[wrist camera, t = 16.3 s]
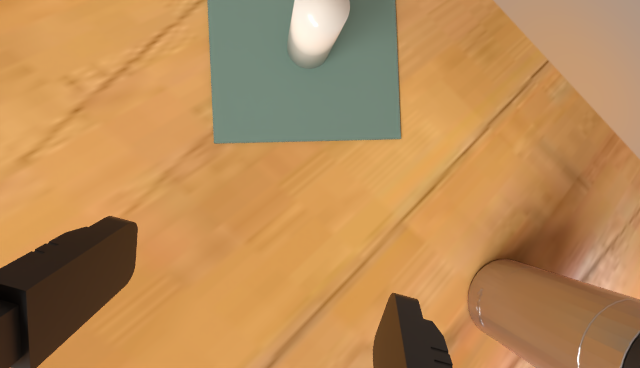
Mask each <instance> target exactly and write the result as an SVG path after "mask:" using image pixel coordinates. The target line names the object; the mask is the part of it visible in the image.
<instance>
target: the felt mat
mask: <svg viewBox="0 0 640 368" xmlns="http://www.w3.org/2000/svg"><path fill="white" fill-rule="evenodd" d="M294 1H295V0H208V21H209V42H210V64H211V86H212V107H213V129H214V143H255V142H297V141H339V140H381V139H401V131H400V106H399V81H398V57H397V32H396V7H395V0H349V1H350V12H349V16H348V18H347V20H346V22H345V24H344V26H343V28H342V30H341V32H340V34H339V36H338V37H337V39H336V41H335V43H334V45H333V47H332V49H331V51H330V53H329V55H328V57H327V59H326V60H325V62H324V63H323V64H322V65H320V66H319V67H317V68H313V69H305V68H302V67H299V66H298V65H296V64H295V63H294V62H293V61H292V60H291V58H290V57H289V55H288V52H287V40H288V35H289V29H290V23H291V18H292V12H293V6H294Z"/></svg>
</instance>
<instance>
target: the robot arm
mask: <svg viewBox="0 0 640 368" xmlns="http://www.w3.org/2000/svg"><path fill="white" fill-rule="evenodd" d="M137 232H138V228H137V225H136V223H135V222H131V221H128V220H124V219H120V218H116V217H113V216H108V217H105V218H104V219H102V220H100V221H98V222H97V223H95V224H93V225H92V226H90V227H83V228H80V229H76V230H73V231H69V232H66V233H64V234H62V235H60V236H58V237H57V238H55V239H53V240H51V241H49V243H48V244H44V245H42V246H40V247H38V248H37V249H35V251H34V252H32V251H31V252H29V253H28V254H26V255H24V256H22V257H20V258H18V259H17V260H15V261H13V262H11V263H9V264H8V265H6V266H4V267H2V268H0V368H10V367H11V368H37V367H38V366H39V365H40V364H41V363H42V362H43V361H44V360H45V359H46V358H47V357H49V356H50V355H51V354H52V353H53V352H54V351H55V350H56V349H57V348H58V347H59V346H60V345H62V344H63V343H64V342H65V341H66V340H67V339H68V338H69V337H70V336H71V335H72V334H74V333H75V332H76V331H77V330H78V329H79V328H80V327H81V326H82V325H83V324H84V323H85V322H87V321H88V320H89V319H90V318H91V317H92V316H93V315H94V314H95V313H96V312H97V311H98V310H100V309H101V308H102V307H103V306H104V305H105V304H106V303H107V302H108V301H109V300H110V299H112V298H113V297H114V296H115V295H116V294H117V293H118V292H119V291H120V290H121V289H122V288H123V287H125V286H126V284H127V283H128V282H129V280H130V279H131V277H132V275H133V272H134V269H135V261H136V247H137ZM468 307H469V312H470V315H471V318H472V319H473V321H474V323H475V324H476V326H477V327H478V328H479V329H480V330H481V331H483V332H484V333H486V334H487V335H489V336H490V337H492V338H493V339H495V340H496V341H498V342H499V343H501V344H502V345H504V346H505V347H506V348H508V349H509V350H511V351H512V352H514V353H515V354H516V355H518V356H519V357H521V358H522V359H524V360H525V361H527V362H528V363H530V364H531V365H533V366H534V367H536V368H640V300H639V299H636V298H633V297H630V296H626V295H623V294H620V293H617V292H614V291H610V290H607V289H604V288H601V287H597V286H594V285H591V284H588V283H585V282H581V281H578V280H575V279H572V278H568V277H565V276H562V275H559V274H556V273H552V272H549V271H546V270H543V269H540V268H537V267H534V266H530V265H527V264H524V263H521V262H517V261H514V260H509V259H501V260H496V261H493V262H491V263H489V264H487V265H486V266H484V267H483V268H482V269H481V270H480V271H479V272H478V273H477V275H476V276H475V277H474V279H473V281H472V283H471V285H470V289H469V293H468ZM452 365H453V364H452V361H451V358H450V355H449V354H448V349H447V346H446V342H445V339H444V336H443V335H442V334H441V332H440V331H439V330H438V328H437V327H436V326H435V324H434V323H433V322H432V321H429V320H426V319H423V316H422V312H421V309H420V305H419V301H418V300H417V299H414V298H411V297H407V296H403V295H399V294H396V293H392V294H391V295H390V297H389V300H388V302H387V305H386V308H385V310H384V313H383V316H382V319H381V321H380V324H379V327H378V329H377V332H376V336H375V340H374V346H373V366H374V368H452Z"/></svg>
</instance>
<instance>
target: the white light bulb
mask: <svg viewBox="0 0 640 368" xmlns="http://www.w3.org/2000/svg"><path fill="white" fill-rule="evenodd" d="M349 12H350V1H349V0H295V1H294V6H293V12H292V18H291V23H290V29H289V35H288V40H287V52H288V55H289V57H290V58H291V60H292V61H293V62H294V63H295V64H296V65H298V66H299V67H302V68H305V69H313V68H317V67H319V66H320V65H322V64H323V63H324V62H325V60H326V59H327V57H328V55H329V53H330V51H331V49H332V47H333V45H334V43H335V41H336V39H337V37H338V36H339V34H340V32H341V30H342V28H343V26H344V24H345V22H346V20H347V18H348V16H349Z"/></svg>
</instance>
